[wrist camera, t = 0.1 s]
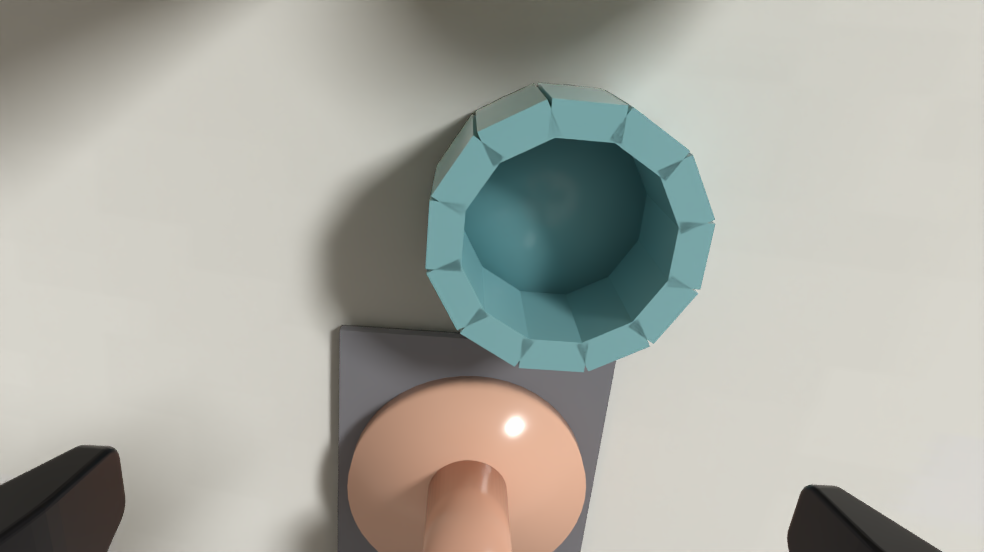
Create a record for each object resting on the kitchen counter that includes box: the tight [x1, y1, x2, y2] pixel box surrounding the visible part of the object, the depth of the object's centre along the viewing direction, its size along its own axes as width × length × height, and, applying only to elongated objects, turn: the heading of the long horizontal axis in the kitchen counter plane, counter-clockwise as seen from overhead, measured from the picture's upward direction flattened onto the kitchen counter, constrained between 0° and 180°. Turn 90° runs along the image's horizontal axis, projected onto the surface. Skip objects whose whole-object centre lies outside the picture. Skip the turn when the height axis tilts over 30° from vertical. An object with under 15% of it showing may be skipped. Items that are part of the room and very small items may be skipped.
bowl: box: [425, 83, 715, 372], centre depth 21 cm, size 8×8×4 cm
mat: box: [338, 325, 616, 552], centre depth 26 cm, size 12×10×1 cm
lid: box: [347, 376, 586, 552], centre depth 23 cm, size 9×9×6 cm
